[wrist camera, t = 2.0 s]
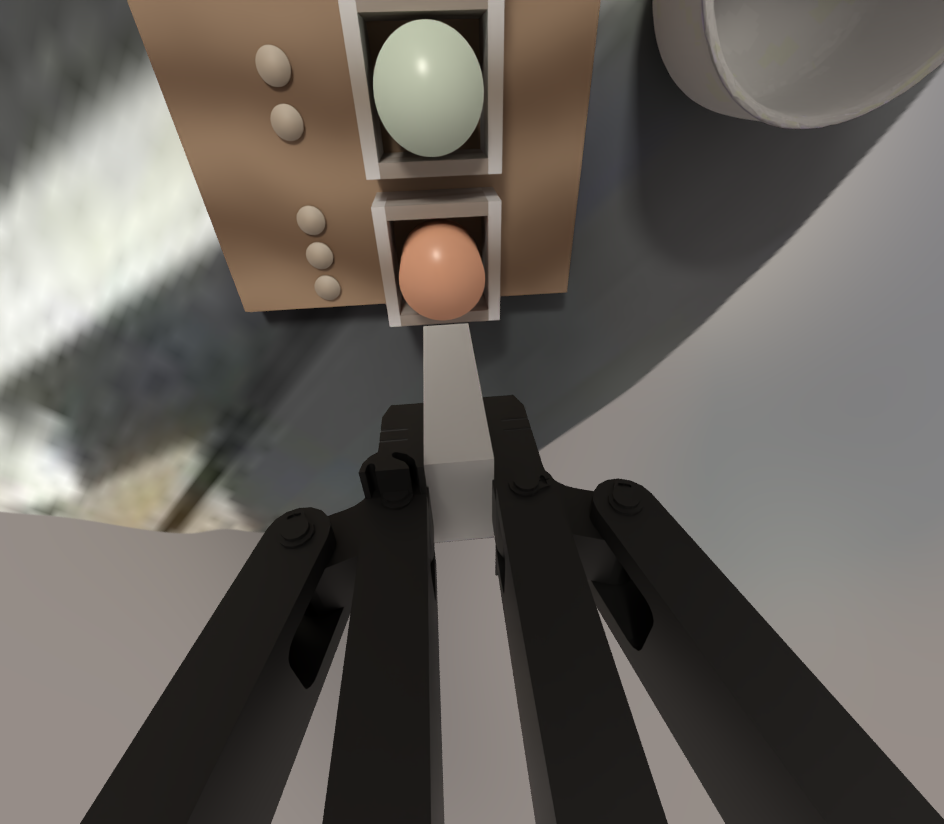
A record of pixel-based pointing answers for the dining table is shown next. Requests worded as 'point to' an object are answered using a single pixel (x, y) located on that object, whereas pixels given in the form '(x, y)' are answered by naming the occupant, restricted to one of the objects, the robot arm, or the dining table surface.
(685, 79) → the teacup
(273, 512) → the dining table surface
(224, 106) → the button board
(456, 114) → the button two
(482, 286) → the button three
